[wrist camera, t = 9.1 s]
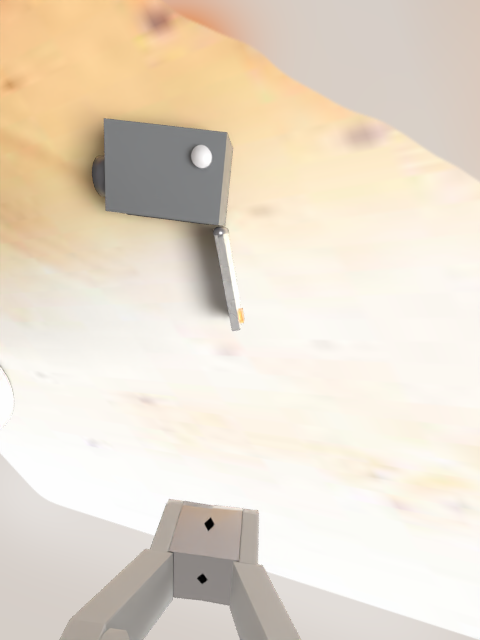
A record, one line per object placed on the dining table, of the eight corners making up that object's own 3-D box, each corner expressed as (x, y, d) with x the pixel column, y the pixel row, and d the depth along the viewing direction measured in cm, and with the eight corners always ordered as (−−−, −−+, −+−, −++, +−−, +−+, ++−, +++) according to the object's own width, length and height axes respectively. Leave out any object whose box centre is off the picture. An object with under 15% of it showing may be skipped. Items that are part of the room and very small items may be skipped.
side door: (245, 317, 32) (243, 329, 28) (235, 318, 32) (231, 331, 28) (230, 226, 29) (225, 225, 25) (219, 228, 30) (212, 227, 26)
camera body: (113, 212, 30) (84, 208, 25) (113, 133, 28) (80, 113, 23) (225, 226, 30) (217, 225, 25) (232, 148, 27) (226, 130, 22)
